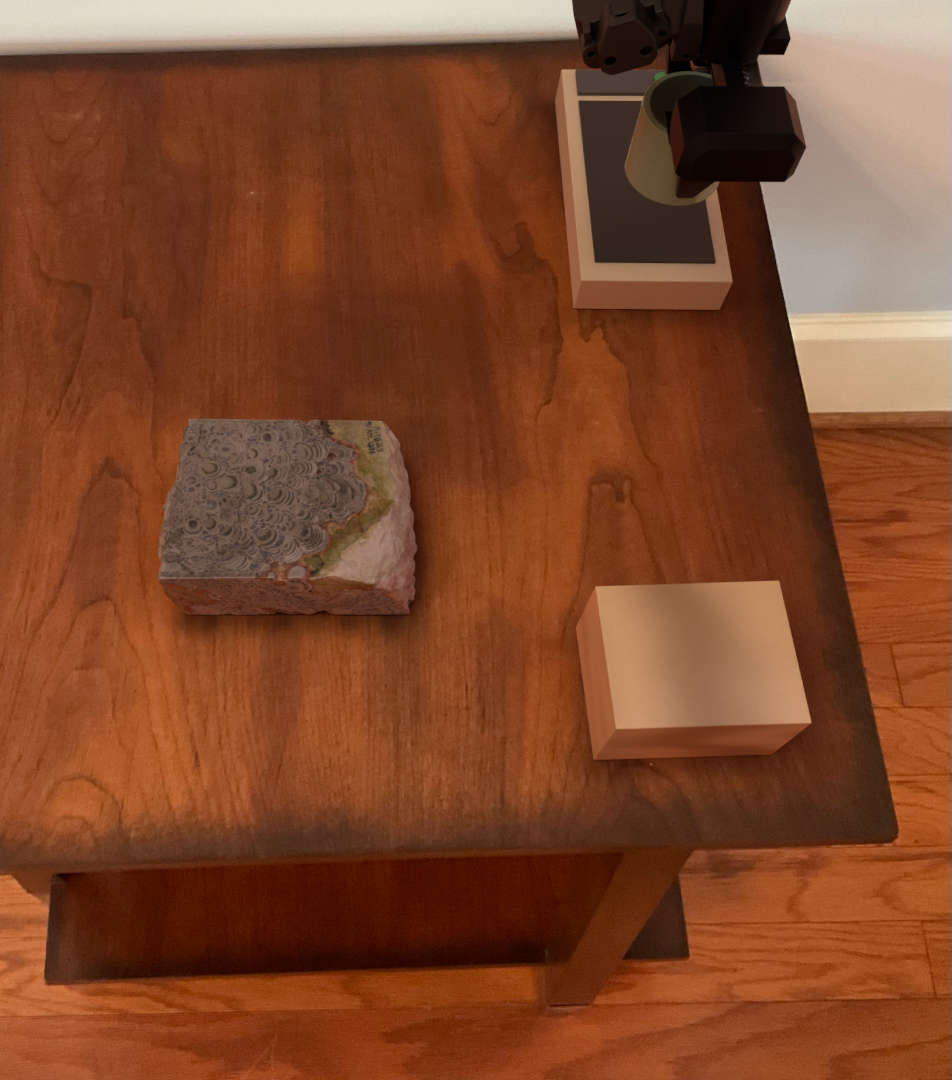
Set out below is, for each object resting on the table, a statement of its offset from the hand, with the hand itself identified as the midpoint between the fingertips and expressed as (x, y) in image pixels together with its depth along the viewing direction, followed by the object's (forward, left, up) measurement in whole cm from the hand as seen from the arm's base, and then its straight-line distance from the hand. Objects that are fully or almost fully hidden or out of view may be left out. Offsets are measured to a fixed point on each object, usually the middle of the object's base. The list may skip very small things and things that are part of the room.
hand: (678, 157), depth 67 cm
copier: (-3, -6, -10) cm, 12 cm away
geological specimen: (+31, +9, -10) cm, 34 cm away
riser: (+15, +27, -10) cm, 33 cm away
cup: (0, 0, -1) cm, 1 cm away
